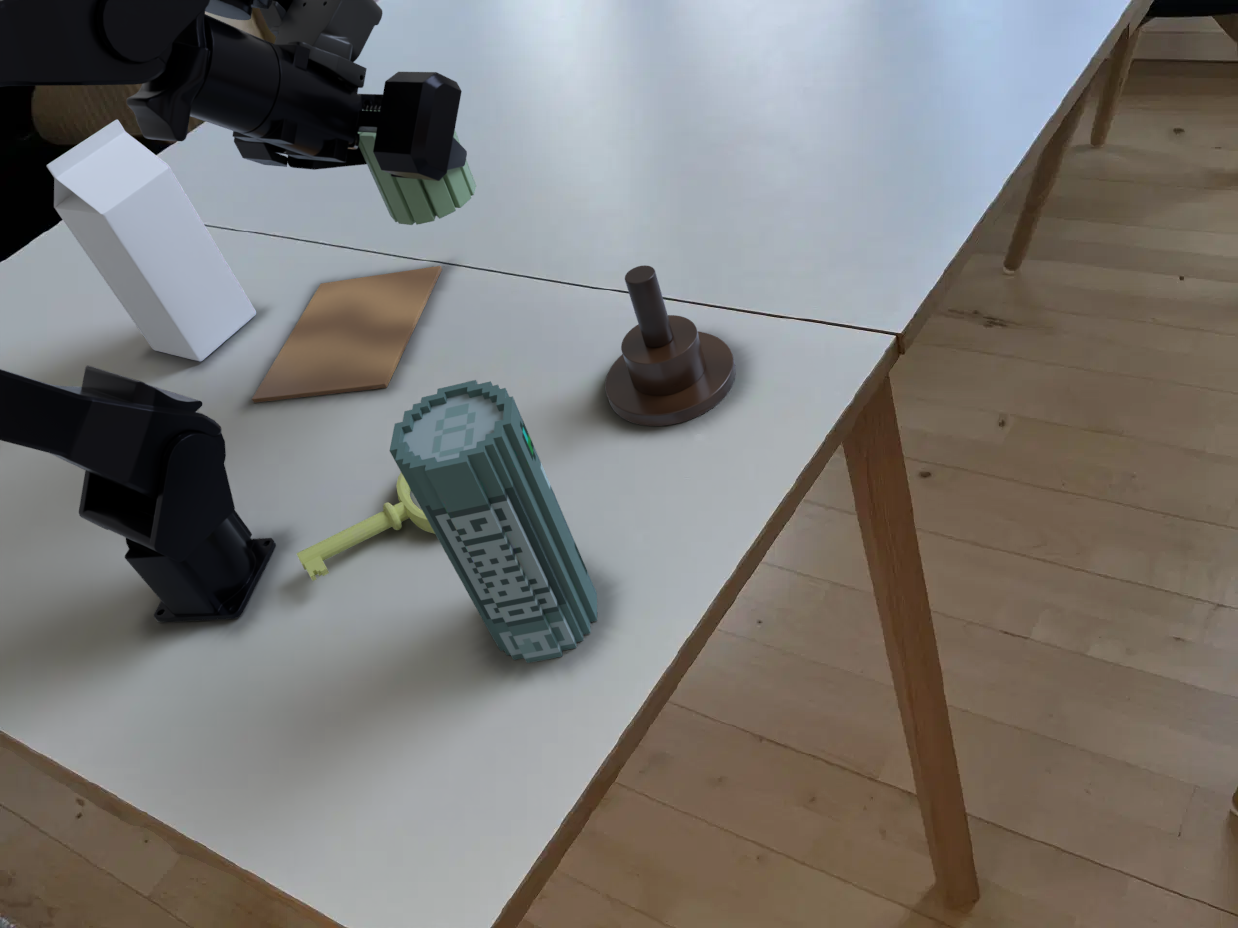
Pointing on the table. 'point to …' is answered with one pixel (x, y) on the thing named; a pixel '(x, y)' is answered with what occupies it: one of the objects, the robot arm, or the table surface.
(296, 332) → the cork mat
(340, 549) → the key
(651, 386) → the ring holder
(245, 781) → the table surface
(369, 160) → the ring
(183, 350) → the milk carton
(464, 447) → the can
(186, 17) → the robot arm
